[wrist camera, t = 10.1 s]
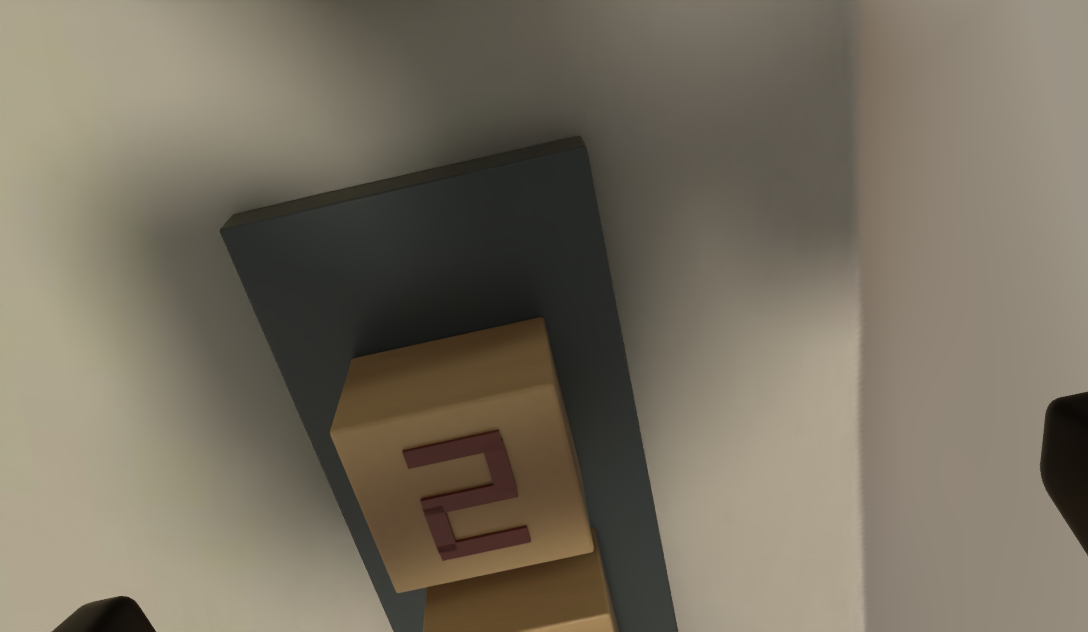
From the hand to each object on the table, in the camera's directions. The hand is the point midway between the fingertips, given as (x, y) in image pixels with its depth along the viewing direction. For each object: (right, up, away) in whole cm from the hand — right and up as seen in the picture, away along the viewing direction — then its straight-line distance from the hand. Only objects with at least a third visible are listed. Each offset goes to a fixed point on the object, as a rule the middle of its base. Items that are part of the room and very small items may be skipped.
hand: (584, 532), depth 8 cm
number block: (-2, 0, +12) cm, 12 cm away
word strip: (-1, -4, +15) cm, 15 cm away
